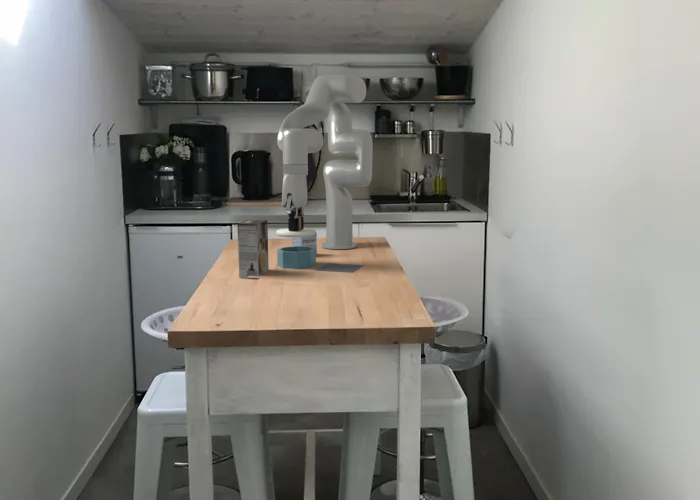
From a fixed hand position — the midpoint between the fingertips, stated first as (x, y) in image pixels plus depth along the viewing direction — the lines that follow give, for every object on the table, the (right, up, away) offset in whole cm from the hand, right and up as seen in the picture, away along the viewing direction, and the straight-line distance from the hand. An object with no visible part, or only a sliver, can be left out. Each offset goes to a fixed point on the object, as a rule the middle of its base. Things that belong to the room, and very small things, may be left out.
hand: (296, 229), depth 222 cm
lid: (0, -2, 0) cm, 2 cm away
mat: (+13, -13, -2) cm, 19 cm away
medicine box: (+1, -9, +19) cm, 22 cm away
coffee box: (-12, -14, -9) cm, 20 cm away
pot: (0, -12, +2) cm, 12 cm away
